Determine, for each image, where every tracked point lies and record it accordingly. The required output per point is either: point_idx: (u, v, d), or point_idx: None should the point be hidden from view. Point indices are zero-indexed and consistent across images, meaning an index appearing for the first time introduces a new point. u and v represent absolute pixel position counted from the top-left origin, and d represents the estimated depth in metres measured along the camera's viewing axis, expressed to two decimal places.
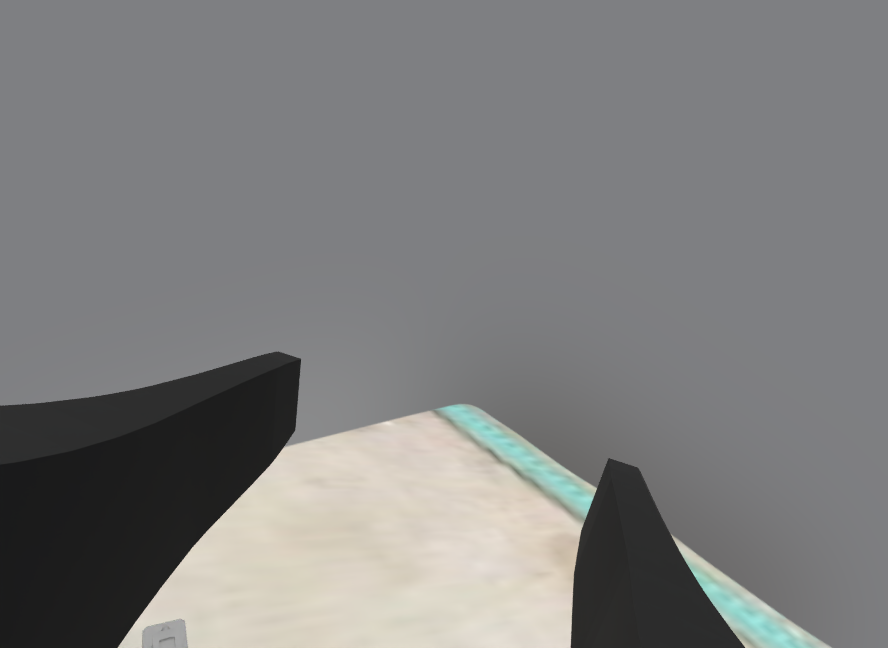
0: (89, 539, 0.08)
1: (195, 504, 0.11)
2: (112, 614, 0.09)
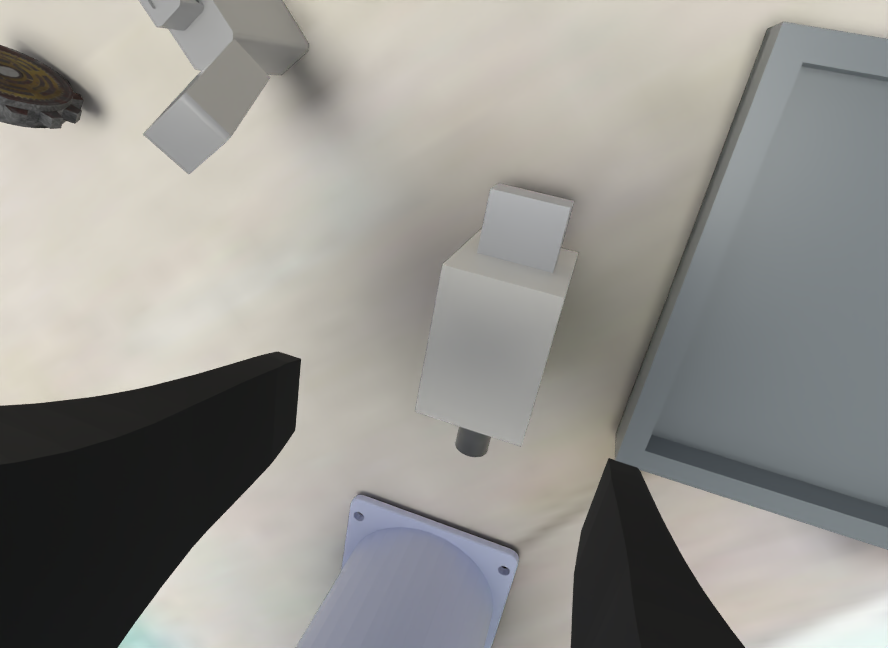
0: (88, 539, 0.08)
1: (195, 504, 0.11)
2: (112, 614, 0.09)
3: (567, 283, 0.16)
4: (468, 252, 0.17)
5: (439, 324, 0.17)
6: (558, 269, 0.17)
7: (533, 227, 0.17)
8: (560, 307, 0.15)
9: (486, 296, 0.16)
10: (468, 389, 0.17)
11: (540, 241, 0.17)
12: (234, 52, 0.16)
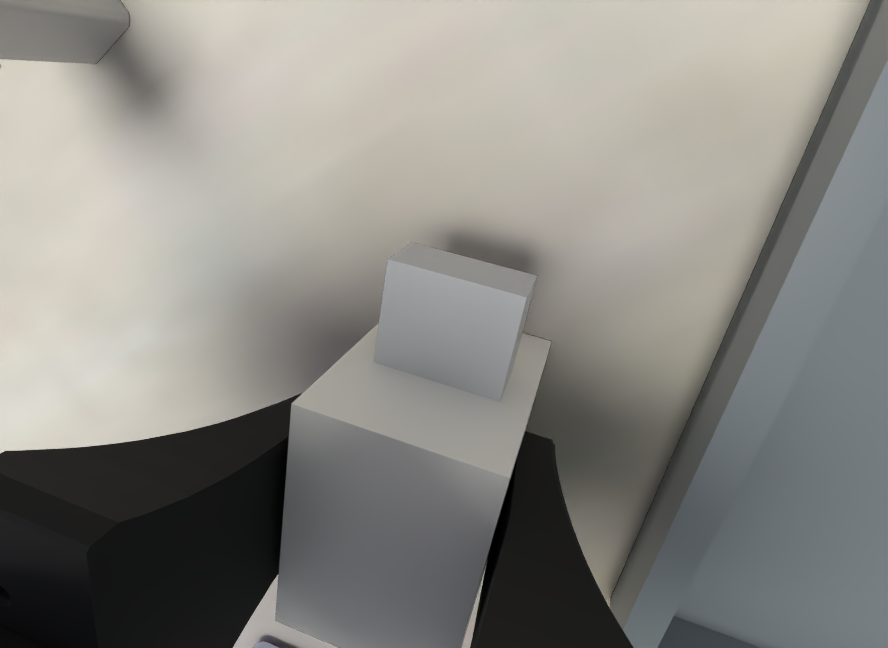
0: (194, 584, 0.08)
1: (279, 537, 0.10)
2: None
3: (521, 430, 0.09)
4: (357, 361, 0.10)
5: (298, 498, 0.09)
6: (511, 390, 0.10)
7: (464, 327, 0.10)
8: (502, 493, 0.08)
9: (370, 462, 0.09)
10: (354, 600, 0.10)
11: (476, 350, 0.10)
12: None
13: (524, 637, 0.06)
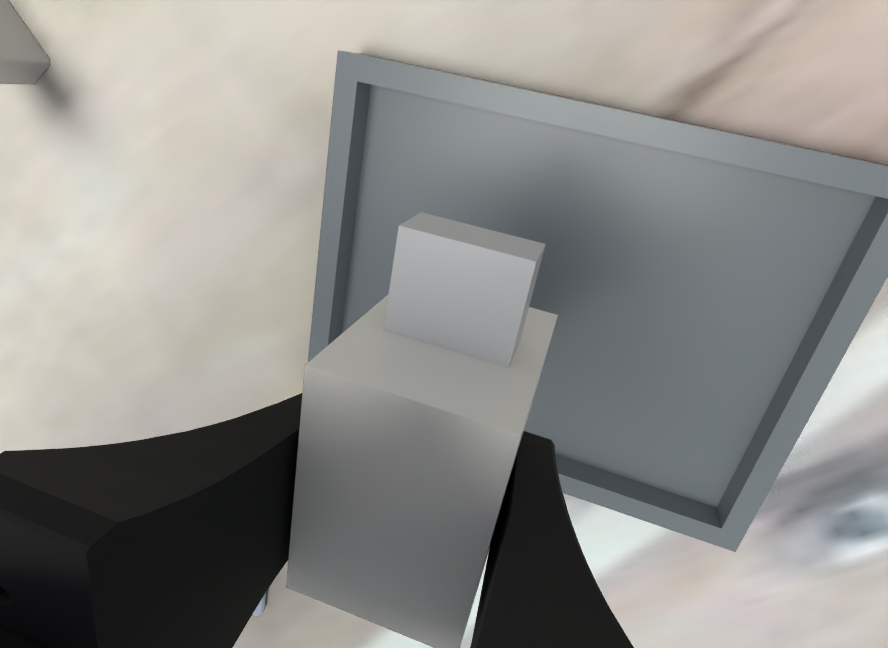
0: (194, 584, 0.08)
1: (279, 537, 0.10)
2: None
3: (531, 392, 0.09)
4: (367, 328, 0.10)
5: (310, 461, 0.10)
6: (519, 358, 0.10)
7: (473, 292, 0.10)
8: (514, 450, 0.08)
9: (383, 422, 0.09)
10: (365, 563, 0.10)
11: (486, 315, 0.10)
12: None
13: (524, 637, 0.06)
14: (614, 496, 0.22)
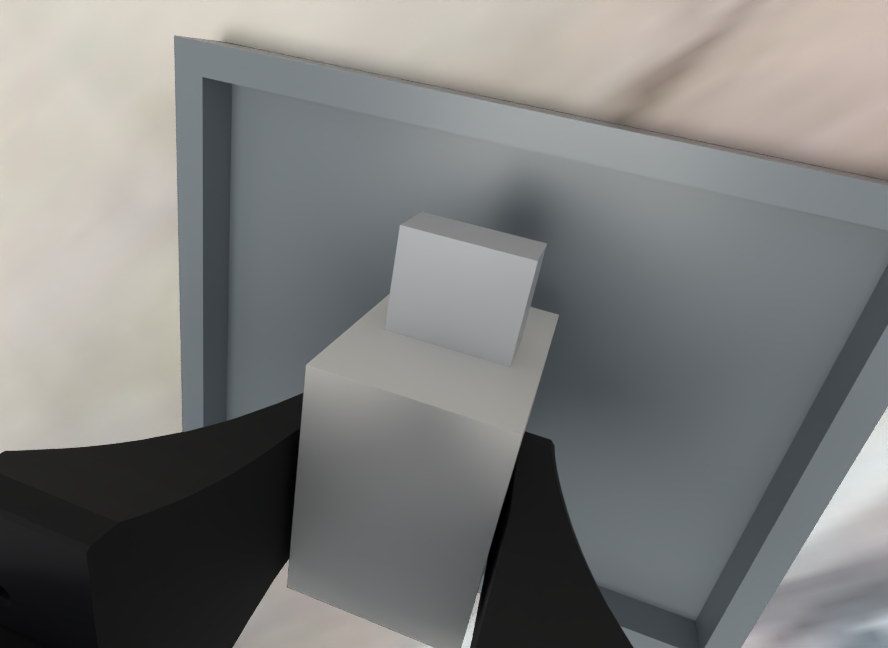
0: (195, 584, 0.08)
1: (279, 537, 0.10)
2: None
3: (532, 392, 0.09)
4: (369, 328, 0.10)
5: (311, 461, 0.10)
6: (520, 358, 0.10)
7: (475, 292, 0.10)
8: (515, 450, 0.08)
9: (384, 422, 0.09)
10: (366, 563, 0.10)
11: (487, 315, 0.10)
12: None
13: (524, 637, 0.06)
14: None
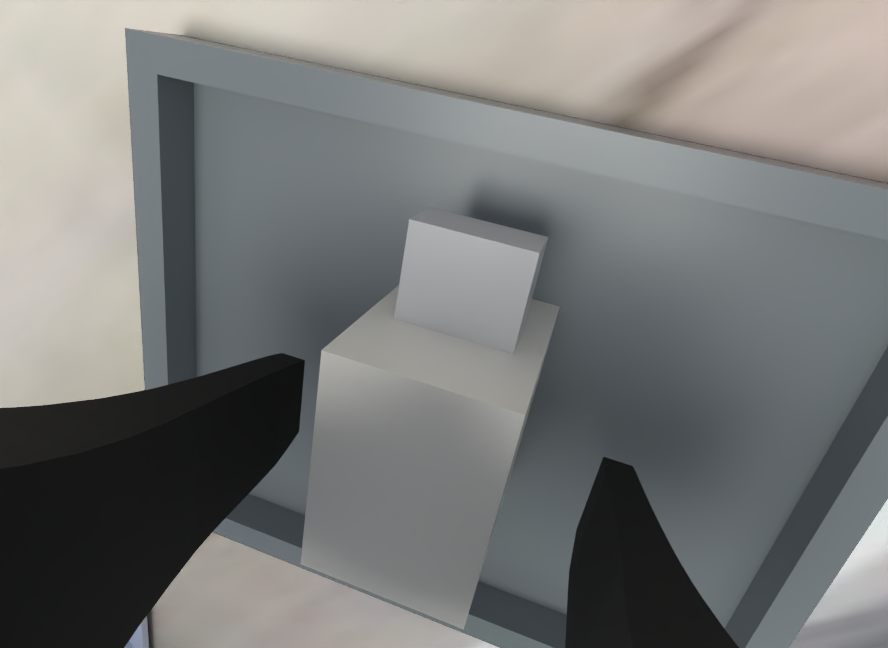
0: (94, 541, 0.08)
1: (200, 506, 0.11)
2: (118, 616, 0.09)
3: (534, 377, 0.10)
4: (379, 318, 0.11)
5: (325, 442, 0.10)
6: (523, 346, 0.11)
7: (480, 283, 0.10)
8: (518, 429, 0.09)
9: (395, 404, 0.09)
10: (376, 540, 0.11)
11: (492, 304, 0.10)
12: None
13: None
14: None
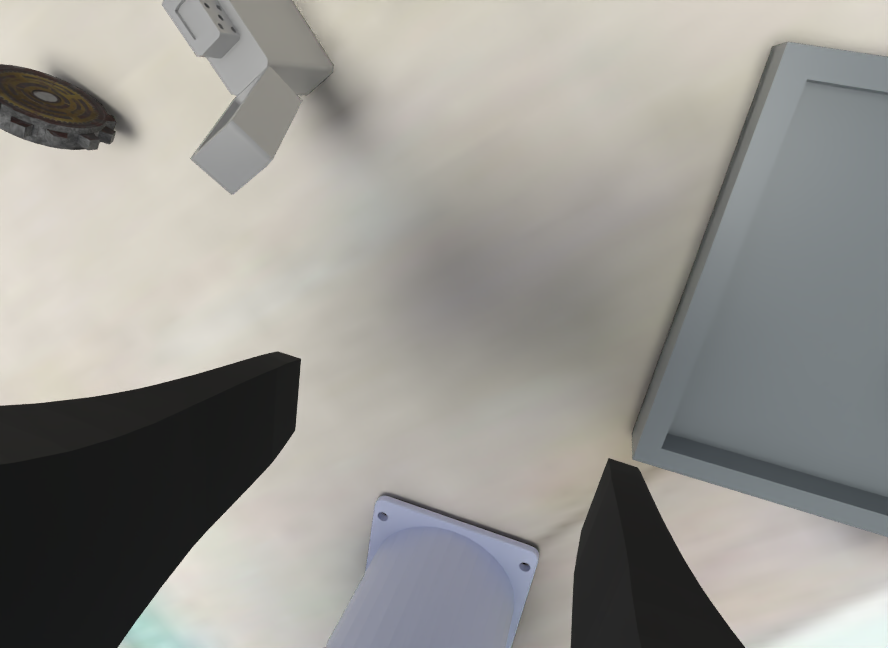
0: (88, 539, 0.08)
1: (195, 504, 0.11)
2: (112, 614, 0.09)
3: None
4: None
5: None
6: None
7: None
8: None
9: None
10: None
11: None
12: (270, 78, 0.17)
13: None
14: None
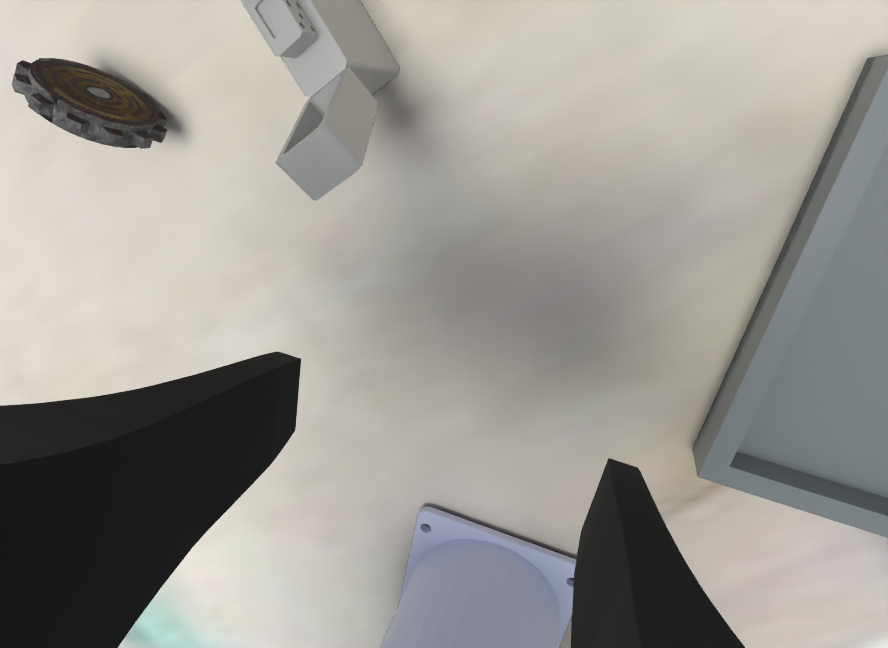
0: (88, 539, 0.08)
1: (195, 504, 0.11)
2: (112, 614, 0.09)
3: None
4: None
5: None
6: None
7: None
8: None
9: None
10: None
11: None
12: (350, 80, 0.16)
13: None
14: None
